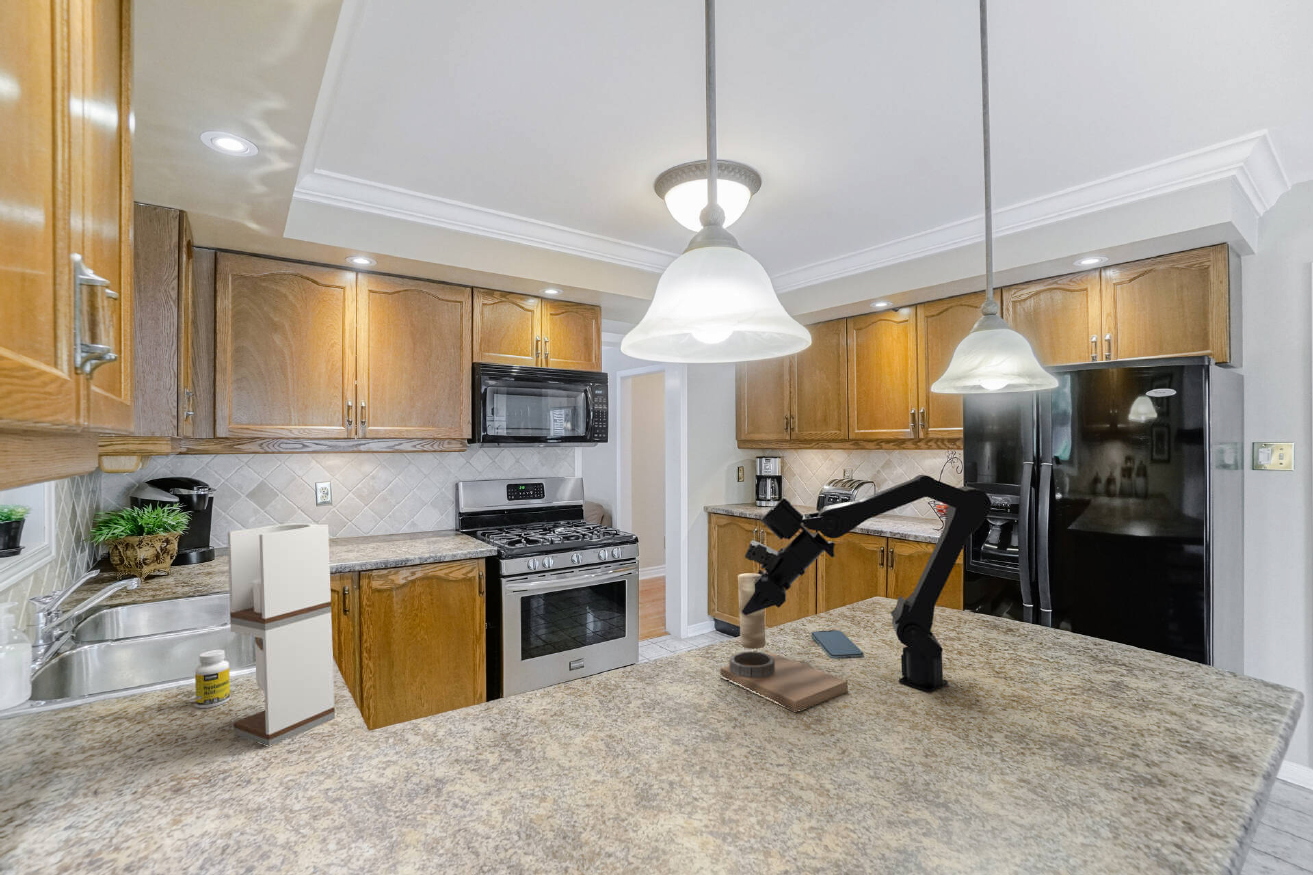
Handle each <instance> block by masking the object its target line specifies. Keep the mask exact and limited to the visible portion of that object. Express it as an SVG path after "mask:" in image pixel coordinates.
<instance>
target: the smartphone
mask: <svg viewBox="0 0 1313 875" xmlns="http://www.w3.org/2000/svg"><path fill="white" fill-rule="evenodd" d="M810 635H811V638H812V640H813V641H814V642H815V643H816V644H817V645H818V646H819V647H820V648H821V649H822V651H824V652H823V653H825V654H826V655H827V656H828V657H829V658H830V659H834V660H836V659H838V660H839V659H854V658H856V659H857V658H864V657H865V656H864V652H863V651H862V650H861V649H860V648H859V647H858V646H857V645H856V644H855V642H853V641H852V640H851V639H850V638H849V637H848V636H847V635H846V634H844V633H843V631H842V630H839V629H838V630H836V629H835V630H833V629H832V630H818V631H812V632H811V634H810Z"/></svg>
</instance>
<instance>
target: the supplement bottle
mask: <svg viewBox="0 0 1313 875" xmlns="http://www.w3.org/2000/svg"><path fill="white" fill-rule="evenodd" d="M198 656H199V660H198V661H199V663H200V665H198V666H197V667H196V668H195V672H194V674H195V675H194V676H195V677H194V678H195V706H196V707H197V708H198V709H199V708H200V709H209V708H214V707H215V708H216V707H217V706H221V705H223V704H226V703H227V702H228V701H230V698H231V696H230V695H231V685H230V684H231V682H230V681H231V680H230V679H231V678H230V663H229V662H228V661H227V660H224V659H225V657H226V652H225V650H224V649H213V650H209V651H205V652H202V653H200V654H199V655H198Z"/></svg>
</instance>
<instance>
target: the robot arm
mask: <svg viewBox="0 0 1313 875" xmlns="http://www.w3.org/2000/svg"><path fill="white" fill-rule="evenodd" d="M924 498H930V499H932V500H934V501H937V502H939V503H941V504H944V505H947V508H946V511H945V519H944V520H945V521H944V526H943V529H942V531H941V534H940V536H939V538H938V540H937V542H936V544H935V547H934V548H933V550H932V553H931V555H930V557H929V558H928V561H927V563H926V565H925V567H924V569H923V571H922V573H921V575H920V578H919V579H918V581H917V584H916V586H915V587H914V589H913V592H912V593H911V594H910V595H909V596H908V597H907V598H904V597H903V596H901V595H899V596H898V598H897V601H896V605H895V607H894V609H893V610H892V611H891V612H890V614H891V617H892V619H891V624H892V628H893V629H894V632H895V635H896V637H897V639H898V641H899V642H900V643H901V644H902V645H904V646H905V647H902V654H901V655H900V662H901V663H900V664H901V666H900V667H901V676H902V677H900V678H898V682H899V683H900V684H904V685H906V686H910V687H912V688H915V689H918V690H921V691H924V692H927V693H931V692H934V691H936V690H937V689H939V688H943V687H944V686H946V685H948V684H949V681H948V680H947V679H944V678H943V677H944V675H943V674H944V671H943V670H944V669H943V650H944V648H943V647H942V645H941V644H940V642H939V641H938V639H937V638H936V636H935V634H934V633H933V632H932V631H931V630H932V627H933V622H934V615H935V608H936V603H937V602H938V600H939V597H940V596H941V593H942V591H943V590H944V587H945V585H946V583H947V581H948V579H949V577H950V574H951V573H952V571H953V569H954V567H955V565H956V562H957V560H958V559H959V556H960V555H961V552H962V550H963V548H964V546H965V544H966V542H967V540H968V539H969V537H970V536H972V535H973V534H974V533H975V532H976V530H978V529H979V528H980V527H981V525H982V524H983V522H985V520H986V519H987V517H988V516H989V514H990V513H991V511H992V507H993V504H992V501H991V498H990V497H989V495H988V494H987V493H986V492H984V491H983V490H981V489H979V488H975V487H971V486H968V485H967V486H960V487H955V486H953V485H950V484H947V483H945V482H943V481H939V480H936V479H935V478H933V476H930V475H927V474H918V475H917V476H915V477H914V478H912V479H910V480H906V481H904V482H901V483H899V484H896V485H894V486H892V487H889V488H886V489H884V490H881V491H878V492H876V493H874V494H871V495H868V496H867V497H864V498H862V499H858V500H852V501H847V502H846V501H845V502H841V503H835V504H832V505H826V506H824V507H822V508H821V509H820V510H819V511H817V512H812V513H804V514H802V513H801V512H800V511H799V510H798V509H797V508H796V507H794V506H793V505H792V504H791V501H790V500H789V499H787V498H786V497H782V498H781V500H779V501H778V502H777V503H775V505H773V506H771V508H770V509H769V510H768V511H767V512H766V513H765V514H764V515H763V516H762V518H761V519H759V520H760V522H762V524H763V525H764V526H766V527H767V528H768V529H769V530H770V531H771V532H772V533H773V534H774V535H775V536H776V537H777V538H778V539H779V540H783V539H784V540H788V541H789V540H791V539H792V538H793V537H794V536H795V535H796V534H797V533H798V531H799V530H801V532H799V533H798V534H797V535H796V536H795V537H794V539H793V540H791V541H790V543H789V544H788V545H786V546H785V547H780V549H779V550H775V549H774V548H771V547H770V546H767V545H765V544H763V543H761V542H759V541H757V540H753V539H752V540H751V541H750V543H749V545H748V548H747V551H746V553H745V554H744V558H745V559H747V560H749V561H753V562H756V563H757V564H760V568H761V569H762V570H761V569H759V570H758V573H757V574H761V575H760V576H759V578H758V579H757V580H755V583H754V585H755V592H754V594H753V595H752V597H751V598H750V600H749V601H748V603H747V604H746V605H745V607H744V609H743V610H742V613H743V614H744V615H748V614H751V613H754V612H756V611H759V610H762V609H764V610H765V609H768V608H771V607H774V606H776V607H777V608H780V607H781V606H782V605H783V604H785V602H786V601H787V591H788V590H789V589H790V588H791V587H792V585H793V583H794V582H795V581H796V580H797V579H798V578H799V577H800V576H801V577H803V575H804V574H805V573H806V570H807V569H808V568H809V567H810V566H812V564H813V563H814V562H815V561H816V560H817V559H818V558H819V557H820V556H821V555H822V554H823V553H824V552H825V553H826V554H827V555H828V556H830V557H831V558H834V557H835V552H834V551H835V550H834V549H835V545H836V543H835V541H833V540H831V541H828V540H827V539H826V538H829V539H838V538H841V537H843V536H844V535H846V534H848V533H849V532H850V531H853V530H854V529H856V528H857V527H858V526H860V525H861V524H863V523H864V522H865V521H867V520H869V519H872V518H874V517H877V516H879V515H882V514H885V513H887V512H890V511H893V510H895V509H897V508H900V507H903V506H906V505H908V504H911V503H914V502H916V501H919V500H921V499H924ZM811 530H812V531H816V532H815V533H813V532H812V531H811ZM819 532H820V533H819ZM821 534H822V535H821ZM825 537H826V538H825Z"/></svg>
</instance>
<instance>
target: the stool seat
mask: <svg viewBox="0 0 1313 875" xmlns="http://www.w3.org/2000/svg"><path fill="white" fill-rule="evenodd" d="M719 669H720V670H719V672H720V673H719V674H720V675H722V676H723V677H725V678H727V679H729V680H732V681H733V682H736V683H738V684H741V685H742V686H744V687H746V688H749V689H750V690H752V691H755V692H756V693H759V694H760V695H764V696H765V697H768V698H770V699H772V700H774V701H776V702H778V703H779V704H781V705H783V706H785V707H786V708H789V709H790V710H793V711H795V712H797V711H798V710H802V709H804V708H807V709H809V708H811V707H810V706H812V707H815V706H816V705H815V704H817V705H819V704H821V702H822V703H824V702H826V701H828V700H831V699H834V698H836V697H839V696H840V695H844V694H845V693H848V692H849V691H848V685H849V684H848V681H847V680H846V679H842V678H840V677H838V676H835V675H833V674H832V675H831V674H830V673H827V672H824V671H821V670H819V669H817V668H813V667H810V666H808V665H805V664H803V663H800V662H797V661H794V660H792V659H789V658H787V657H784V656H781V655H779V654H776V653H773V652H767V653H765V652H761V651H751V650H749V651H740V652H737V653H735V654H732V655H731V656H730V657H729V665H726V666H723V667H720V668H719ZM823 701H824V702H823ZM808 707H809V708H808ZM786 708H785V709H786ZM790 710H789V711H790ZM802 711H803V710H802ZM797 713H798V712H797Z"/></svg>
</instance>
